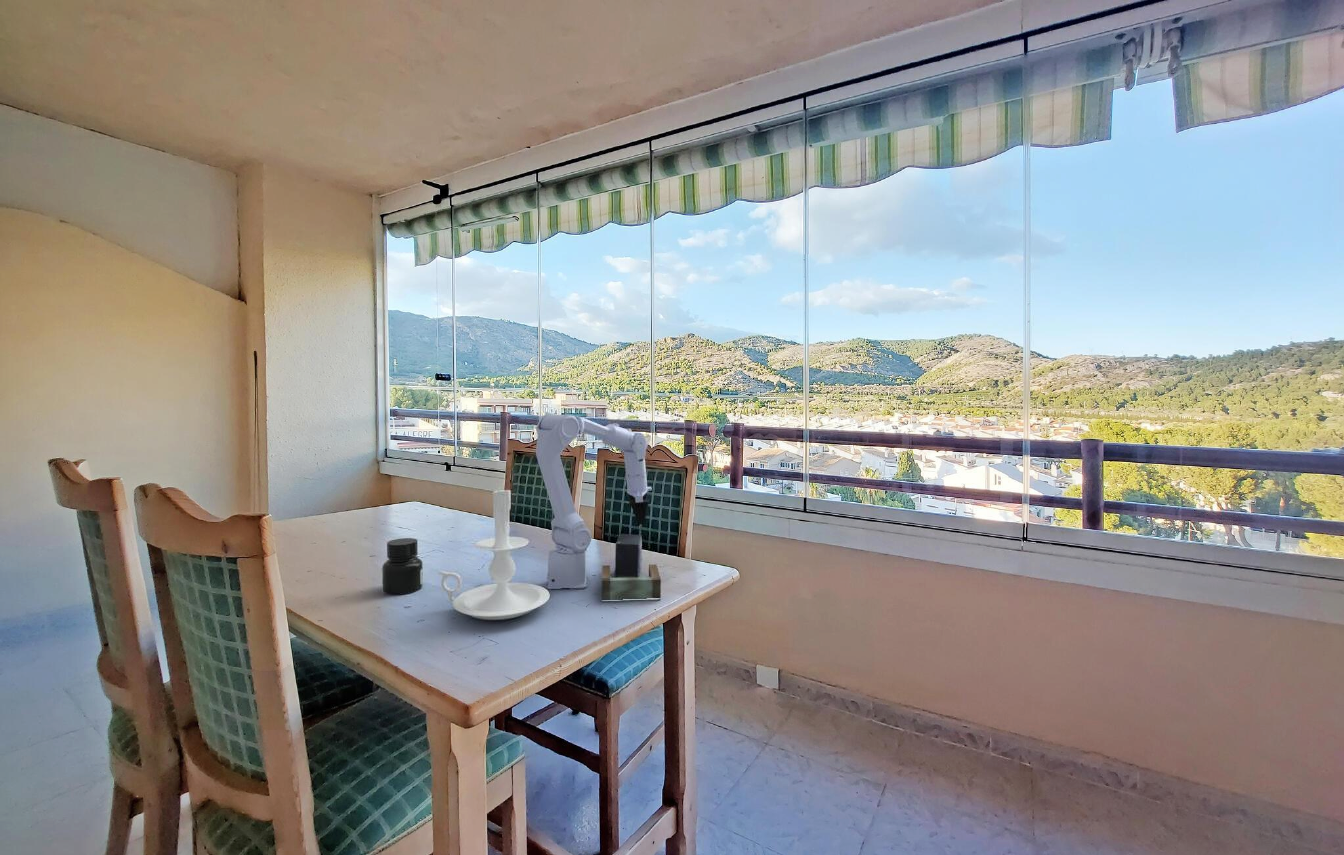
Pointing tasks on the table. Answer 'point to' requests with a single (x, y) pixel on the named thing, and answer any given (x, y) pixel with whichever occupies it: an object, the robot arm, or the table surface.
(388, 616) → the table surface
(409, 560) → the ink bottle
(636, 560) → the small box
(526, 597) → the candlestick
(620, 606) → the table surface
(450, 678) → the table surface
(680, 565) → the table surface
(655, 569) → the book slot
